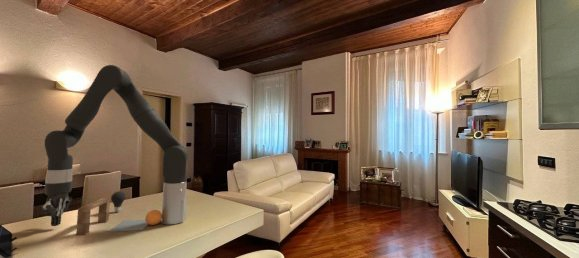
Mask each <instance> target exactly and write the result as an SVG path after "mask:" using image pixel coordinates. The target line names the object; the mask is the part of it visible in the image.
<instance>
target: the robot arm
mask: <svg viewBox="0 0 579 258" xmlns="http://www.w3.org/2000/svg"><path fill="white" fill-rule="evenodd" d="M112 90H113V91H114V92H115V93H116V94H117V95H118V96H119V97H120V98H121V99H122V101H123V102H124V103H125V106H126V107H127V110H128V112H129V114H130V117H131V118H132V120H133V121H134V122H135V123H136V124H137V126H138V127H139V128H140V129H141V131H142V132H144V133H145V134H146V135H147V136H148V137H150V138H151V139H152V140H153V141H154V142H155V143H156V144H158V146H159V147H160V148H161V150H162V151H163V153H164V154H163V159H162V177H163V187H162V190H163V191H162V205H161V206H162V209H161V214H162V218H161V224H164V225H175V224H176V225H177V224H181V223H184V221H186V219H187V206H188V197H187V180H188V175H187V162H188V160H189V156H190V155H189V151H188V149H187V148H186V147H185V146H184V145H183V144H182V143H181V142H180V141H179V140H178V139H177V138H176V137H175V136H174V134H173V133H172V132H171V130H170V129H169V127H168V126H167V124H166V123H165V121H164V120H163V119H162V117H161V115H160V114H159V113H158V112H157V110H156V109H155V108H154V106H152V105H151V103H150V102H149V101H148V100H147V99H146V97H144V96H143V95H142V93H141V92H140V90H139V89H138V88H137V87H136V85H135V83H134V81H133V80H132V78H131V77H130V75H129V74H128V72H127V71H125V70H123V69H122V68H121V67H119V66H117V65H114V64H108V65H105V66H103V67H101V68H100V70H99V71H98V73H97V74H96V76H95V77H94V79H93V82H92V84H91V85H90V86H89V88H88V89H87V91H86V93H85V94H84V95H83V98H81V100H80V101H79V103H78V104H77V105H76V106H75V108H73V110H72V111H71V112H70V113H69V114H68V115H67V117H66V118H65V120H64V123H65V124H66V126H65V127H64V129H63V130H52V131H50V132H48V134H46V136H45V138H44V149H45V153H46V156H47V168H46V169H47V170H46V175H45V181H44V195H46V196H47V198H46V200H45V201H46V202H45V204H42V205H40V210H41V211H42V212H43V213H44V215H45V216H46V217H50V226H51V227H58V226H59V225H61V222H62V215H63V214H64V213H66V212H67V210H68V208H69V207H70V204H71V203H72V202H73V197H69V193H71V192H72V189H73V187H72V186H73V174H74V173H73V163H74V162H73V161H74V159H73V156H72V155H71V154H69V152H68V151H69V150H68V149H69V148H73V147H74V146H76V145H77V143H79V142H80V140H81V138H82V137H83V134H84V133H85V130H86V128H87V127H89V125H90V124H91V122H93V120H94V119H95V117H96V116H97V115H98V113H99V110H100V108H101V105H102V103H103V101H104V99H105V98H106V96H107V95H108V94H109V93H110V92H111V91H112Z"/></svg>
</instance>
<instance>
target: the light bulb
mask: <svg viewBox="0 0 579 258" xmlns="http://www.w3.org/2000/svg"><path fill="white" fill-rule="evenodd" d="M125 199H126V194H125V192H124V191H115V192H114V193H113V194H112V195H111V196H110V202H111V203H112V204H113V207H114V209H113V210H114V212H116V213H119V212H121V210H122V205H123V203H124V201H125Z"/></svg>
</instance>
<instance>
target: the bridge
mask: <svg viewBox="0 0 579 258" xmlns="http://www.w3.org/2000/svg"><path fill="white" fill-rule="evenodd" d="M110 202H111V197H109V198H108V197H107V198H104V197H103V198H100V199H98V200H95V201H93V202H90V203H88V204H86V205H84V206H81V207H79V208H77V216H76V217H77V218H76V220H77V221H76V229H75V232H76V233H75V235H76V236H83V235H84V236H85V235H87V234H89V233H90V225H91V224H90V222H91V210H93V209H95V208H97V207H98V216H97V217H98V218H97V223H98V224H101V223H108V222H109V220H110V219H109V218H110V206H111V205H110Z"/></svg>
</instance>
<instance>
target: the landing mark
mask: <svg viewBox="0 0 579 258" xmlns="http://www.w3.org/2000/svg"><path fill="white" fill-rule="evenodd" d="M147 226H149V224H148V223H147V222H146V220H145V219H133V220H132V219H131V220H123V221H121V222H120V223H118V224H116V225H115V226H114V227H112V228H111V229H110V230H108V231H107V232H108V233H112V232H113V233H114V232H115V233H116V232H117V233H118V232H132V231H143V230H145V228H147Z"/></svg>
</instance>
